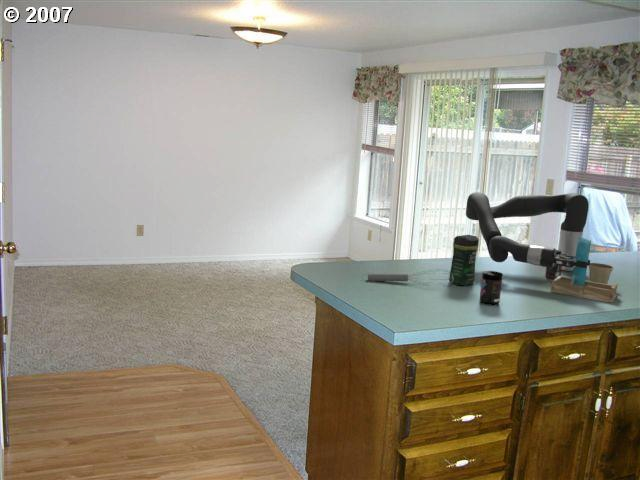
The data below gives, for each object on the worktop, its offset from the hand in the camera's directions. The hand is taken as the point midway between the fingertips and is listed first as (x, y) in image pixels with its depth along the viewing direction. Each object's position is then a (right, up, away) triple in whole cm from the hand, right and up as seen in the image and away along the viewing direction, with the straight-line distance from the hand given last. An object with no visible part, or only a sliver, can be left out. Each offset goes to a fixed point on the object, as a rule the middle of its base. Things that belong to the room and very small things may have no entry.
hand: (588, 264), depth 244 cm
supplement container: (-42, -13, -20) cm, 48 cm away
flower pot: (+10, -10, +15) cm, 21 cm away
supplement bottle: (-3, -7, +28) cm, 29 cm away
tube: (-3, -10, +3) cm, 11 cm away
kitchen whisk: (-66, -8, +1) cm, 67 cm away
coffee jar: (-45, -8, +6) cm, 46 cm away
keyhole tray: (-1, -11, +2) cm, 11 cm away
